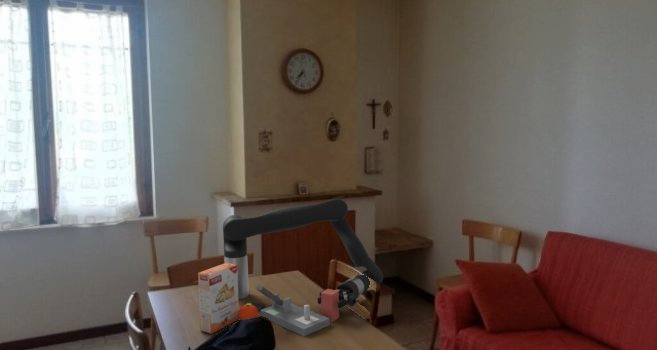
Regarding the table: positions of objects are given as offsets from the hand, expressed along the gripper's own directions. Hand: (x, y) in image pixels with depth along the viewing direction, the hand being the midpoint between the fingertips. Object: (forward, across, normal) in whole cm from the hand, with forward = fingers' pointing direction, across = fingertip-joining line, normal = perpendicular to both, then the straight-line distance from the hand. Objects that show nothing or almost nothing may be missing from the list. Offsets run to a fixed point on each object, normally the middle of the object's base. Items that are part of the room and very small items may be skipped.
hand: (328, 303), depth 176 cm
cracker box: (+23, -31, +6) cm, 39 cm away
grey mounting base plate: (+7, -10, +6) cm, 14 cm away
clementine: (+16, -23, +6) cm, 29 cm away
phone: (+9, -30, +7) cm, 32 cm away
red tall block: (-1, 0, +6) cm, 6 cm away
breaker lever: (+6, -17, +2) cm, 18 cm away
